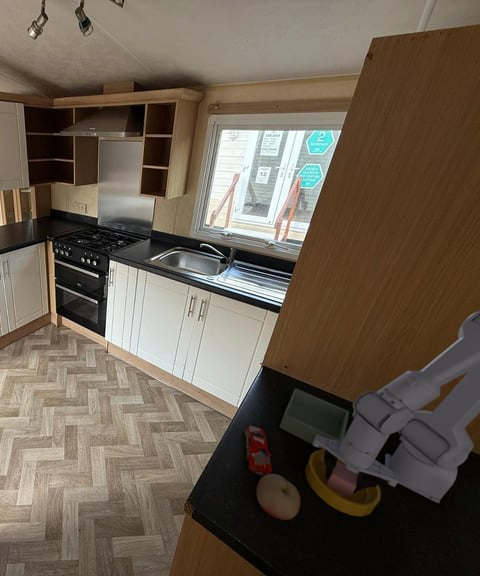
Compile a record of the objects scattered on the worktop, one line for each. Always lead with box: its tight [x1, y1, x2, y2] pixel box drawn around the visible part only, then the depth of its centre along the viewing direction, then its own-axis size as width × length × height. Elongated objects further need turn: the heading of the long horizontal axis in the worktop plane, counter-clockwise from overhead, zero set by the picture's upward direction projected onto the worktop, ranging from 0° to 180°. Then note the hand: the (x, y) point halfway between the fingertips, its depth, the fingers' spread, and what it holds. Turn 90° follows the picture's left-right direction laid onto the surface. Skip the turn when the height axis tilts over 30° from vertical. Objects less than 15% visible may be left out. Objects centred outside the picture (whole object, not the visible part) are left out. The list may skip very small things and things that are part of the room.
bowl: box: [304, 449, 382, 517], centre depth 72 cm, size 13×13×4 cm
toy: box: [326, 462, 358, 499], centre depth 72 cm, size 4×4×4 cm
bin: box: [279, 387, 350, 450], centre depth 86 cm, size 13×13×6 cm
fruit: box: [256, 473, 301, 521], centre depth 67 cm, size 8×8×8 cm
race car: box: [243, 425, 273, 477], centre depth 79 cm, size 13×5×4 cm, turn 161°
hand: (339, 482), depth 72 cm, fingers closed on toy, 4 cm apart
